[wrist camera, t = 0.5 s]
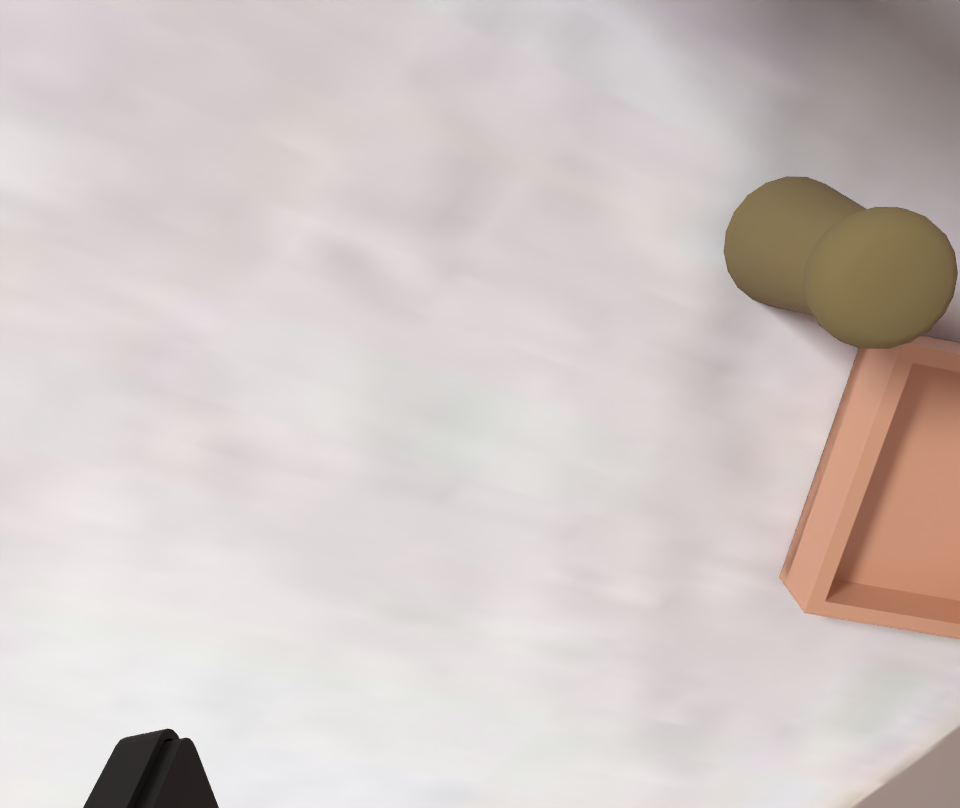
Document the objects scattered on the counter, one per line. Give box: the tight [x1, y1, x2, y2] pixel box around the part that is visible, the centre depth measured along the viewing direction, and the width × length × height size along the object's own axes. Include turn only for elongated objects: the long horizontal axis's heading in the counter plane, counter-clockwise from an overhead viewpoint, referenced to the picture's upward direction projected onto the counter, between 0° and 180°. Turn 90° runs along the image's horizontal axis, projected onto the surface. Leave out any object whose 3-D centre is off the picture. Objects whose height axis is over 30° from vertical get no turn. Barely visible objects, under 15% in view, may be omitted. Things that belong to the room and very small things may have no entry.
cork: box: [724, 177, 958, 349], centre depth 36 cm, size 6×6×11 cm
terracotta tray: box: [779, 335, 960, 639], centre depth 44 cm, size 14×12×4 cm
